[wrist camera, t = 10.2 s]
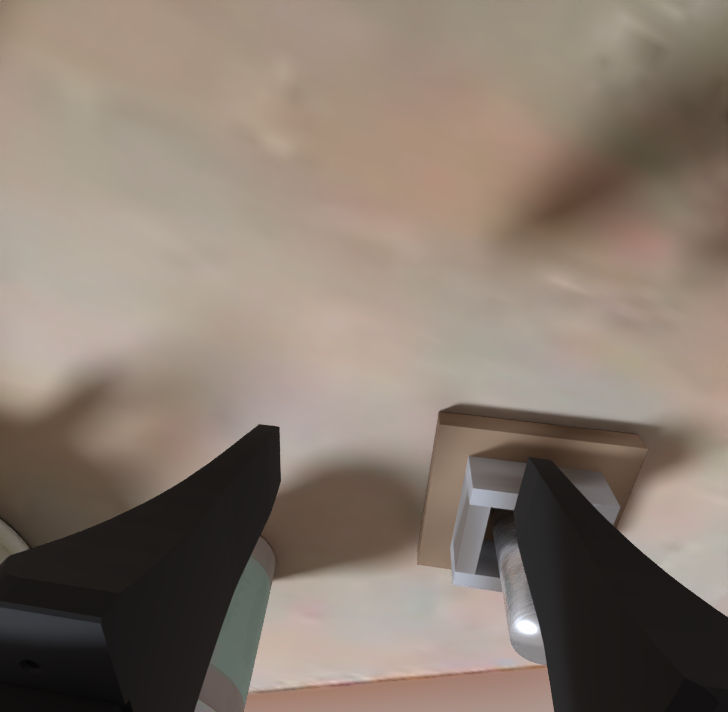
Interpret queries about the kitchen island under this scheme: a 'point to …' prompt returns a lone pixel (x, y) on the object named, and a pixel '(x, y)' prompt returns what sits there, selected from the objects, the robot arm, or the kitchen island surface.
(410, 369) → the kitchen island surface
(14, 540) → the kettle
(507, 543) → the shaft
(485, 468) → the block
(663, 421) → the kitchen island surface
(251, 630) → the coffee cup
